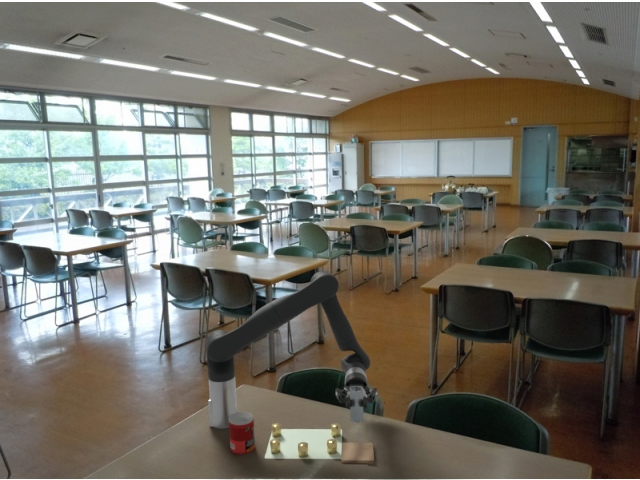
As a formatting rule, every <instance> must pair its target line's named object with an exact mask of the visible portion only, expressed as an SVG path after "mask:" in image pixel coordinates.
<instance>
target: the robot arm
mask: <svg viewBox="0 0 640 480" xmlns="http://www.w3.org/2000/svg"><path fill="white" fill-rule="evenodd" d="M339 286H340V284H339V280H338V279H337V277H336V276H335V275H333V274H332V273H330V272H328V271H323V270H322V271H321V270H320V271H318V272H316V273H314V274H313V275H312V277H311V279H310V282H309V283H308V284H307V285H306V286H304V287H303V288H301V289H299V290H297V291H295V292H293V293H290V294H287V295H283V296H280V297H278V298H275V299H273V300H271V301H270V302H268V303H266V304H265V305H263V306H262V307H260V308H258V309H257V310H256V311H255V312H254V313H252V315H250V316H249V317H248V318H247V319H246V320H245V321H244V322H243V323H242V324H241V325H239V326H238V327H237V328H234V329H233V330H231V331H229V332H227V331H225V330H221V329H219V330H214V331H213V332H211V333H210V334H209V335H208V337H207V339H206V345H205V346H206V359H207V360H206V361H207V375H208V378H207V379H208V390H209V399H208V401H207V403H208V419H209V420H208V421H209V427H212V428H215V429H220V430H224V429H229V417H230V416H231V415H232V414H234V413H237V412H238V406H237V404H238V403H237V402H238V401H237V388H236V387H237V386H236V369H235V367H236V366H235V358H234V357H235V355H237V354H238V353H240V352H241V351H243V349H245V348H246V347H248V346H249V345H251V344H253V343H254V342H256V341H258V340H259V339H261V338H263V337H265V336H267V335H269V334H270V333H272V332H274V331H276V330H278V329H279V328H280V327H282V326H284V325H285V324H287V323H289V322H290V321H292V320H293V319H295V318H297V317H298V316H299V315H301V314H302V313H304V312H305V311H307V310H309V309H311V308H312V307H315V306H317V305H319V304H320V306H321V307H322V309H323V311H324V314H325V316H326V319H327V321H328V324H329V326H330V329H331V331H332V334H333V336H334V339H335V342H336V344H337V346H338V349H339V350H340V351H341V352H354V353H351V354H349V355H345V356H344V357H343V358H342V359H341V361H340V365H341V370H342V371H343V372H344V374H345V378H344V387H343V389H340V388H339V387H336V388H335V397H336V399H337V400H338V402H339V403H340V404H344V403H345V408H346V409H347V410H350V387H353V386H360V387H363V410H366V409H367V408H368V407H369V404H373V403H375V401H376V400H377V397H378V388H377V387H374V388H373V389H370V388H369V385H368V384H369V383H368V378H367V372H366V371H367V370H369V368H370V366H371V359H370V357H369V356H368V353H366V351H365V350H364V349H363V347H362V346H361V345H360V344H359V341H358V339H357V338H356V335H355V333H354V330H353V328H352V326H351V323H350V321H349V320H348V317H347V316H346V314H345V312H344V311H343V308H342V306H341V303H340V301H339V299H338V296H337V293H338V291H339ZM368 403H369V404H368Z"/></svg>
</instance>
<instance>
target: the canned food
mask: <svg viewBox="0 0 640 480" xmlns="http://www.w3.org/2000/svg"><path fill="white" fill-rule="evenodd" d="M254 420H255V418H254V415H253V414H252V413H251V412H247V411H237V413H234V414H232V415H231V416H230V417H229V428H228V429H229V431H228V432H229V445H230V451H231V452H232V453H233V454H234V455H238V456H241V455H246V454H250V453H251V452H253V451H254V449H255V447H256V443H255V442H256V441H255V438H256V437H255V421H254Z"/></svg>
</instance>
